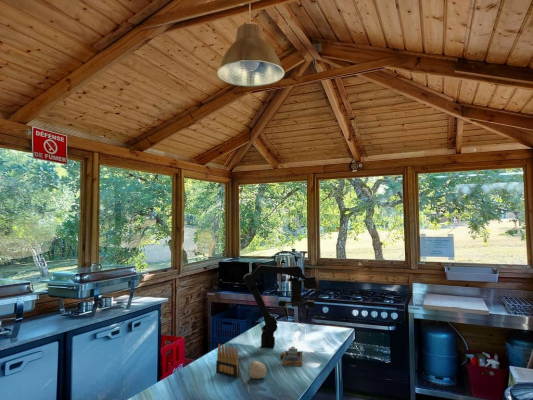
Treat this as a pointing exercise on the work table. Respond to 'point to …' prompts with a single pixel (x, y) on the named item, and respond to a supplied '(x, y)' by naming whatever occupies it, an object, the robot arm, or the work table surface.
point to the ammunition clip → (227, 362)
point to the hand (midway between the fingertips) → (296, 320)
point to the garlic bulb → (257, 369)
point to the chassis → (291, 363)
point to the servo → (292, 354)
